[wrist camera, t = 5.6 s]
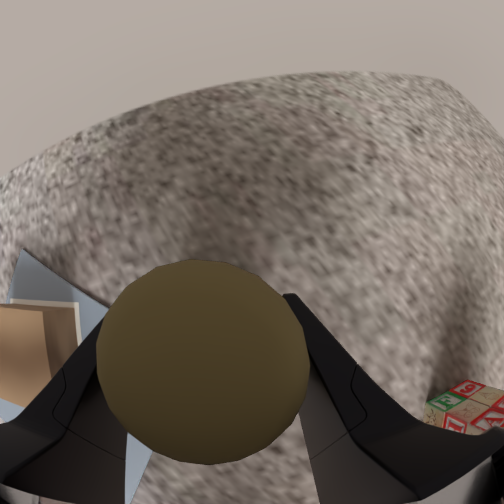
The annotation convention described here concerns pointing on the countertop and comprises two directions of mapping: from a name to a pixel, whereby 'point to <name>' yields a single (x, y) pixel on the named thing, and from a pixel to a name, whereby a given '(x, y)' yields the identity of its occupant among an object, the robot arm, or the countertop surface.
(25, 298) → the mat
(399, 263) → the countertop surface
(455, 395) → the stack of blocks
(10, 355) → the walnut block
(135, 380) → the olive pawn
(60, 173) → the countertop surface
